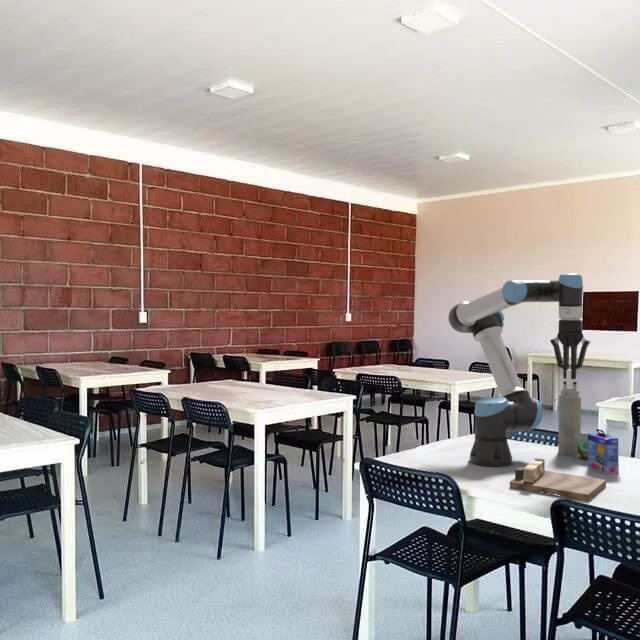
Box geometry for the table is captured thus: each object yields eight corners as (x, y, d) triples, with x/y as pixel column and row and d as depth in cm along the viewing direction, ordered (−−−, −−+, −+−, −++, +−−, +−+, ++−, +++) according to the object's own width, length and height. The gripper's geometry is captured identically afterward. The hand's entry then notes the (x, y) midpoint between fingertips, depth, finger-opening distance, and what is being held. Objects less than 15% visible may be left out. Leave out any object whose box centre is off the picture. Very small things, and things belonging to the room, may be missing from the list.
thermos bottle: (566, 450, 262) (567, 379, 262) (584, 453, 256) (585, 381, 255) (554, 452, 258) (554, 381, 257) (571, 456, 251) (572, 383, 250)
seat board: (509, 487, 210) (509, 472, 210) (531, 474, 226) (531, 459, 226) (588, 501, 196) (588, 484, 196) (605, 486, 212) (606, 470, 212)
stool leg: (535, 470, 223) (535, 457, 223) (545, 472, 221) (545, 458, 221) (522, 482, 209) (522, 468, 209) (533, 483, 208) (533, 469, 207)
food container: (574, 460, 245) (574, 433, 245) (574, 456, 251) (574, 430, 251) (610, 463, 241) (610, 436, 241) (609, 459, 247) (609, 432, 246)
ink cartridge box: (586, 467, 235) (586, 427, 235) (599, 466, 237) (600, 426, 237) (605, 474, 226) (606, 432, 226) (619, 473, 228) (619, 431, 227)
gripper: (547, 319, 226) (546, 388, 227) (587, 320, 218) (586, 391, 219) (554, 318, 232) (553, 385, 233) (593, 319, 224) (592, 388, 225)
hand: (569, 388), depth 226 cm, fingers closed
